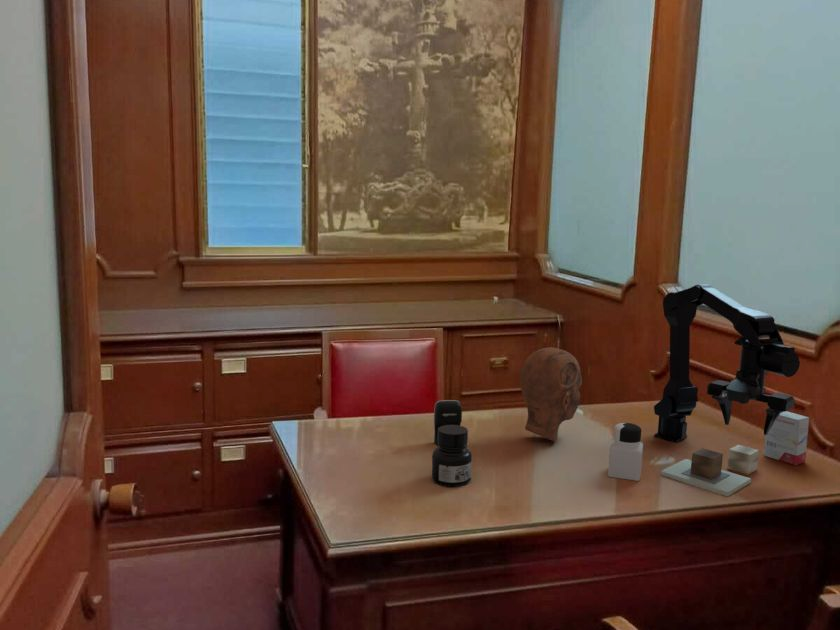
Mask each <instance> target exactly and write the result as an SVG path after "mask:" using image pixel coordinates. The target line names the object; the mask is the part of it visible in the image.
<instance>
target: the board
mask: <svg viewBox="0 0 840 630" xmlns="http://www.w3.org/2000/svg"><path fill="white" fill-rule="evenodd" d="M691 462H692V459H687V458H684V459H682V460H681V461H679V462H676V463H675V464H673V465H671V466H669V467H666V468H665V469H662V470H661V472H660V475H661V476H663V477H667V478H669V479H672V480H675V481H679V482H682V483H685V484H687V485H691V486H693V487H697V488H700V489H703V490H706V491H709V492H712V493H715V494H719V495H721V496H725V497H729V496H730V495H732V494H734V493H736V492H737V491H739V490H741V489H742V488H744V487H746V486H747V485H749V484H751V482H752V478H751V477H747V476H743V475H741V474H738V473H734V472H731V471H727V470H724V469H721V474H720V475H719V476H717V477H715V478H713V479H712V480H710V479H707V478H704V477H701V476H698V475H694V474H691Z"/></svg>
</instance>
